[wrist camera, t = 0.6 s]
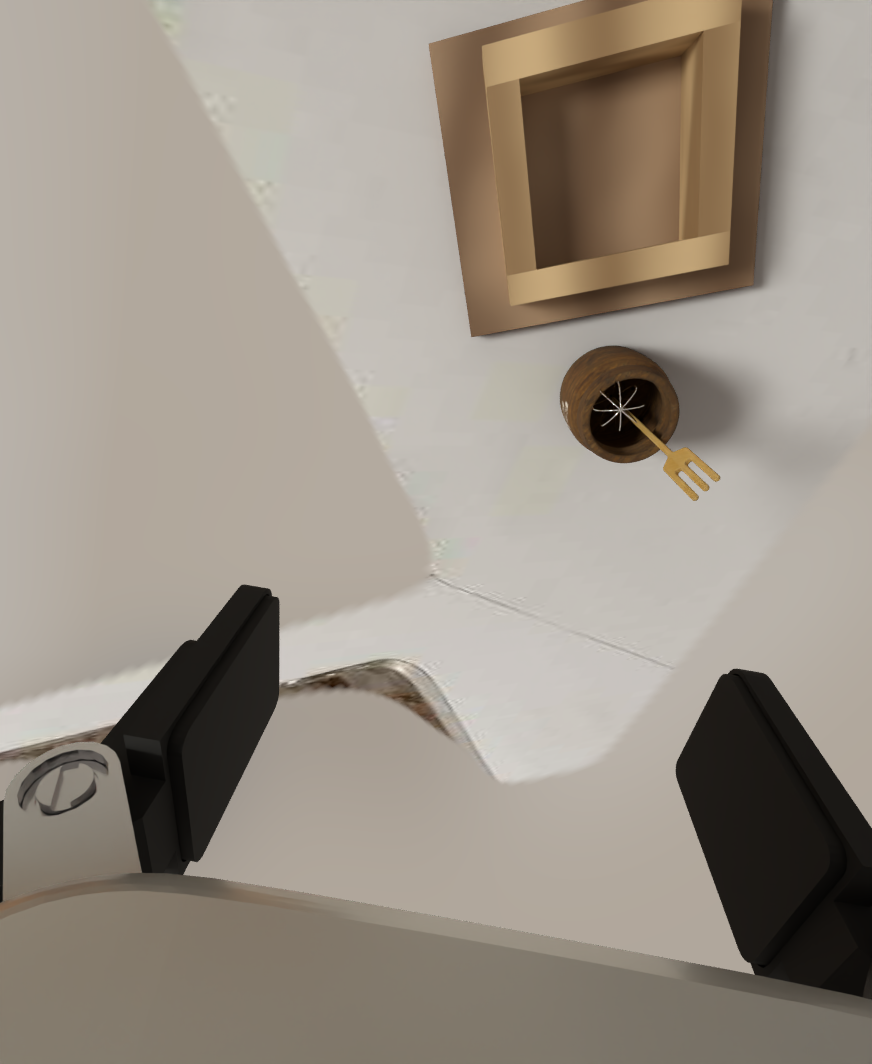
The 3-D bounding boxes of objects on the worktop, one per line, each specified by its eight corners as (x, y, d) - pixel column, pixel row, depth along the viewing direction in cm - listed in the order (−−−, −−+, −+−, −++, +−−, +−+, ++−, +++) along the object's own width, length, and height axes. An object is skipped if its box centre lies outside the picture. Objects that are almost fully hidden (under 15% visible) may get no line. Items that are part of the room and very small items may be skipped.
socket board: (764, -40, 25) (813, -95, 21) (744, 284, 31) (779, 286, 27) (430, 52, 27) (421, 18, 24) (472, 334, 33) (469, 343, 30)
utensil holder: (603, 322, 32) (660, 348, 22) (675, 386, 34) (763, 441, 23) (538, 399, 35) (560, 456, 24) (608, 456, 36) (658, 535, 25)
